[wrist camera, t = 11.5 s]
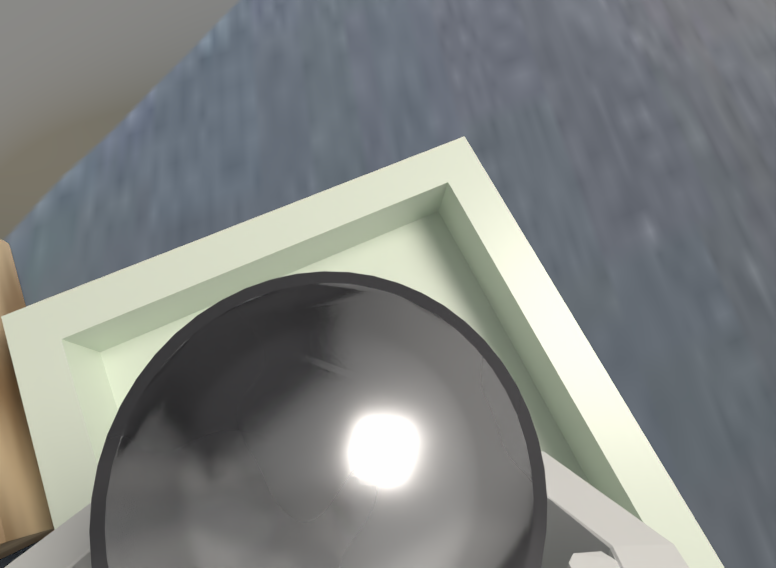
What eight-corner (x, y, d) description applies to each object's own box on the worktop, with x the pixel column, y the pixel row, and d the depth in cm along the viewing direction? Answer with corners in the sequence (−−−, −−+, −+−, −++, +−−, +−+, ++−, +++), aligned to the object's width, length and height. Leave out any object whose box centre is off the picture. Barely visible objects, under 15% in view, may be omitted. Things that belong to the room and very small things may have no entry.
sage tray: (62, 337, 19) (0, 316, 16) (449, 180, 23) (464, 136, 19) (209, 855, 15) (166, 975, 11) (669, 564, 18) (739, 592, 15)
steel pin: (292, 427, 17) (38, 375, 4) (374, 387, 17) (422, 214, 4) (328, 517, 16) (174, 894, 3) (413, 472, 17) (633, 600, 3)
